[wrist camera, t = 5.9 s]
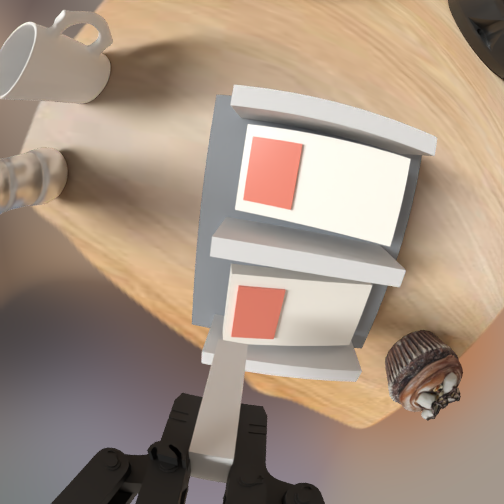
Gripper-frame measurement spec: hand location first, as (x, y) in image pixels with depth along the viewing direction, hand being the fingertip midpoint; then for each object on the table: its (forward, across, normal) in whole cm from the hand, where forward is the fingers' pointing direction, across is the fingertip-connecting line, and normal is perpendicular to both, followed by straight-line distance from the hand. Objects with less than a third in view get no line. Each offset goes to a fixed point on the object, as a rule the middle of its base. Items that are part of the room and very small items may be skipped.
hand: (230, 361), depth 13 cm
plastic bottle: (+14, -24, +7) cm, 29 cm away
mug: (+14, -19, +19) cm, 30 cm away
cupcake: (+14, +23, -9) cm, 28 cm away
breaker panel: (+14, +4, +5) cm, 15 cm away
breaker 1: (+7, +4, +9) cm, 12 cm away
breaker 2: (+7, +4, 0) cm, 8 cm away
